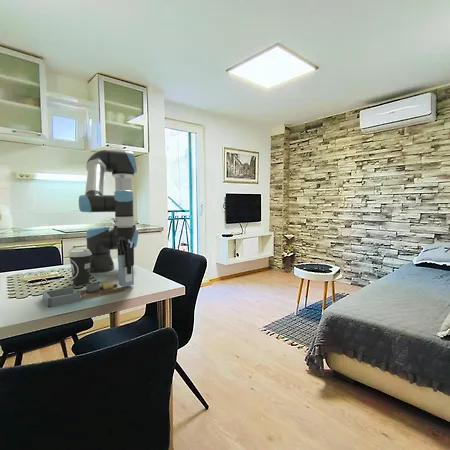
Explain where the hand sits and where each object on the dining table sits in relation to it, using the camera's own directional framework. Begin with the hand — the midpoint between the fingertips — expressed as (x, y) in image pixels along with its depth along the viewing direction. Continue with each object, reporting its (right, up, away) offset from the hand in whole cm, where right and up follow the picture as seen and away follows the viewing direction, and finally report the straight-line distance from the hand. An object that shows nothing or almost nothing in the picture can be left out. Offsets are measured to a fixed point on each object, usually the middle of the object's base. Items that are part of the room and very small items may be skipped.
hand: (126, 280), depth 127 cm
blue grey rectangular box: (0, -2, 0) cm, 2 cm away
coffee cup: (-23, -3, +7) cm, 24 cm away
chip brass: (-6, -4, -5) cm, 9 cm away
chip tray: (-19, -4, -16) cm, 25 cm away
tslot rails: (-8, -4, -7) cm, 11 cm away
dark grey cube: (-11, -4, -9) cm, 14 cm away
